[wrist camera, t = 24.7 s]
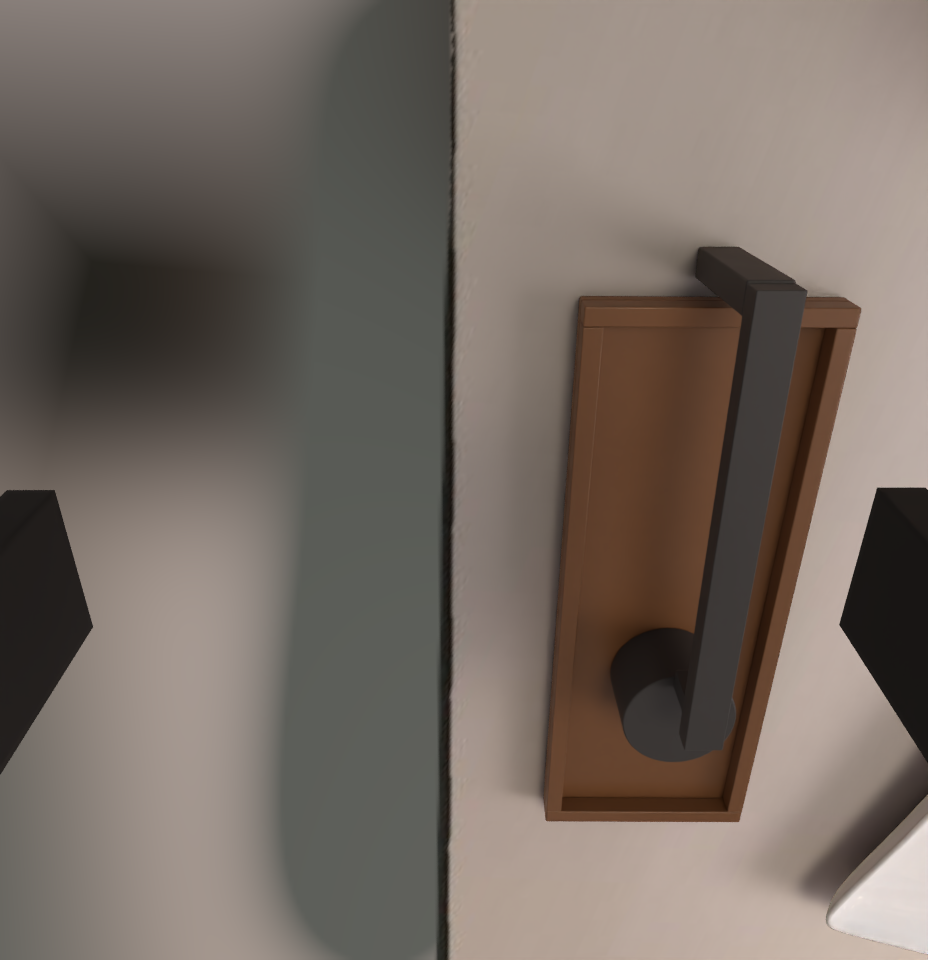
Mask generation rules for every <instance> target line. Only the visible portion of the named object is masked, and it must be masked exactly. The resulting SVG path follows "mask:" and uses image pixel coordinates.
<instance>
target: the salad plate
mask: <svg viewBox="0 0 928 960" xmlns="http://www.w3.org/2000/svg"><path fill="white" fill-rule="evenodd" d="M826 923H827V925H828V926H829V927H830V928H832V929H834V930H837V931H840V932H842V933H846V934H849V935H852V936H856V937H860V938H864V939H868V940H872V941H876V942H880V943H884V944H888V945H891V946H895V947H899V948H903V949H907V950H911V951H915V952H919V953H923V954H927V955H928V795H927V796H926V797H925V798H924V799H923V800H922V801H921V802H920V803H919V804H918V805H917V806H916V807H915V809H914V810H913V811H912V812H911V813H910V814H909V815H908V816H907V817H906V818H905V819H904V820H903V821H902V822H901V823H900V824H899V825H898V826H897V827H896V829H895V830H894V831H893V832H892V833H891V834H890V835H889V836H888V837H887V838H886V839H885V840H884V841H883V842H882V843H881V844H880V845H879V846H878V847H877V848H876V849H875V850H874V851H873V852H872V853H871V854H870V855H869V856H868V857H867V858H866V859H865V860H864V861H863V862H862V863H861V864H860V865H859V866H858V867H857V868H856V869H855V870H854V871H853V872H852V873H851V874H850V875H849V876H848V878H847V879H846V880H845V881H844V882H843V884H842V885H841V886H840V887H839V888H838V890H837V892H836V893H835V895H834V896H833V898H832V900H831V902H830V905H829V908H828V911H827V914H826Z"/></svg>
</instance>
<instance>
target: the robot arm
mask: <svg viewBox="0 0 928 960" xmlns="http://www.w3.org/2000/svg"><path fill="white" fill-rule="evenodd" d="M839 625H840V626H841V628H842V630H843V631H844V633H845V634H846V636H847V637H848V639H849V640H850V642H851V644H852V645H853V647H854V648H855V650H856V651H857V653H858V655H859V656H860V658H861V659H862V661H863V662H864V664H865V666H866V667H867V669H868V670H869V672H870V673H871V675H872V676H873V678H874V680H875V681H876V683H877V684H878V686H879V687H880V689H881V691H882V692H883V694H884V695H885V697H886V698H887V700H888V701H889V703H890V705H891V706H892V708H893V709H894V711H895V712H896V714H897V716H898V717H899V719H900V720H901V722H902V723H903V725H904V726H905V728H906V730H907V731H908V733H909V734H910V736H911V737H912V739H913V741H914V742H915V744H916V745H917V747H918V748H919V750H920V751H921V753H922V755H923V756H924V758H925V759H926V761H927V762H928V490H927V489H926V488H877V491H876V494H875V498H874V501H873V505H872V509H871V512H870V516H869V520H868V523H867V527H866V530H865V534H864V538H863V541H862V545H861V548H860V552H859V556H858V559H857V563H856V566H855V570H854V574H853V577H852V581H851V585H850V588H849V592H848V595H847V599H846V603H845V606H844V610H843V613H842V617H841V621H840V624H839ZM92 628H93V625H92V622H91V618H90V614H89V611H88V607H87V604H86V600H85V596H84V593H83V589H82V586H81V582H80V579H79V575H78V572H77V568H76V565H75V561H74V557H73V554H72V550H71V547H70V543H69V540H68V536H67V532H66V529H65V525H64V522H63V518H62V515H61V511H60V508H59V504H58V501H57V497H56V493H55V490H13V491H12V490H7V491H6V492H5V493H4V494H3V495H2V496H1V497H0V774H1V773H2V771H3V770H4V768H5V766H6V765H7V763H8V761H9V760H10V758H11V757H12V755H13V754H14V752H15V750H16V749H17V747H18V746H19V744H20V742H21V741H22V739H23V738H24V736H25V734H26V733H27V731H28V730H29V728H30V726H31V725H32V723H33V722H34V720H35V719H36V717H37V715H38V714H39V712H40V711H41V709H42V707H43V706H44V704H45V703H46V701H47V699H48V698H49V696H50V695H51V693H52V691H53V690H54V688H55V687H56V685H57V683H58V682H59V680H60V679H61V677H62V675H63V674H64V672H65V671H66V669H67V667H68V666H69V664H70V663H71V661H72V660H73V658H74V656H75V655H76V653H77V652H78V650H79V648H80V647H81V645H82V644H83V642H84V640H85V639H86V637H87V636H88V634H89V632H90V631H91V629H92Z"/></svg>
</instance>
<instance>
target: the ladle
mask: <svg viewBox="0 0 928 960" xmlns="http://www.w3.org/2000/svg"><path fill="white" fill-rule="evenodd" d="M696 278H697V279H698V280H699V281H701V282H702V283H703V284H704V285H705V286H707V287H708V288H709V289H710V290H711V291H713V292H714V293H715V294H716V295H717V296H719V297H720V298H721V299H722V300H723V301H725V302H726V303H727V304H728V305H729V306H731V307H732V308H733V309H734V310H735V311H737V312H738V313H739V314H740V315H741V316H742V321H741V328H740V334H739V341H738V347H737V354H736V361H735V367H734V374H733V380H732V387H731V393H730V400H729V407H728V413H727V420H726V426H725V433H724V439H723V446H722V453H721V459H720V466H719V472H718V479H717V485H716V492H715V499H714V505H713V512H712V518H711V525H710V531H709V538H708V545H707V551H706V558H705V564H704V571H703V578H702V584H701V591H700V597H699V604H698V610H697V617H696V624H695V630H694V634H693V633H691V632H688V631H685V630H682V629H676V628H661V629H654V630H650V631H647V632H644V633H642V634H640V635H638V636H636V637H634V638H632V639H631V640H629V641H628V642H627V643H626V644H625V645H624V646H623V647H622V648H621V649H620V650H619V651H618V653H617V654H616V656H615V658H614V660H613V663H612V666H611V671H610V677H611V683H612V687H613V691H614V695H615V699H616V703H617V707H618V711H619V716H620V720H621V724H622V728H623V731H624V734H625V737H626V739H627V741H628V742H629V743H630V745H631V746H632V747H633V748H634V749H635V750H637V751H638V752H639V753H641V754H642V755H644V756H646V757H649V758H651V759H654V760H658V761H664V762H683V761H689V760H693V759H696V758H699V757H702V756H704V755H706V754H708V753H710V752H711V751H713V750H723V744H724V741H725V740H726V739H727V737H728V736H729V734H730V733H731V731H732V729H733V727H734V724H735V720H736V707H735V703H734V700H733V698H732V696H733V690H734V685H735V680H736V674H737V669H738V663H739V658H740V653H741V647H742V642H743V636H744V631H745V626H746V620H747V615H748V609H749V604H750V599H751V593H752V588H753V582H754V577H755V572H756V566H757V561H758V555H759V550H760V545H761V539H762V534H763V528H764V523H765V518H766V512H767V507H768V501H769V496H770V491H771V485H772V480H773V474H774V469H775V464H776V458H777V453H778V447H779V442H780V437H781V431H782V426H783V420H784V415H785V410H786V404H787V399H788V393H789V388H790V383H791V377H792V372H793V366H794V361H795V356H796V350H797V345H798V339H799V334H800V329H801V323H802V318H803V312H804V307H805V302H806V296H807V290H805V289H804V288H802V287H800V286H799V285H797V284H795V283H796V282H795V280H794V279H792V278H790V277H789V276H787V275H785V274H784V273H782V272H780V271H778V270H777V269H775V268H773V267H772V266H770V265H768V264H767V263H765V262H763V261H762V260H760V259H758V258H756V257H755V256H753V255H751V254H750V253H748V252H746V251H745V250H743V249H741V248H739V247H700V248H699V252H698V260H697V268H696Z"/></svg>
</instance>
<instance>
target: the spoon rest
mask: <svg viewBox="0 0 928 960" xmlns="http://www.w3.org/2000/svg"><path fill="white" fill-rule="evenodd" d="M860 313H861V308H860V307H858V306H857V305H855V304H854V303H852V302H850V301H849V300H847V299H846V298H844V297H806V302H805V307H804V312H803V318H802V323H801V329H800V334H799V339H798V345H797V350H796V356H795V361H794V366H793V372H792V377H791V383H790V388H789V393H788V399H787V404H786V410H785V415H784V420H783V426H782V431H781V437H780V442H779V447H778V453H777V458H776V464H775V469H774V474H773V480H772V485H771V491H770V496H769V501H768V507H767V512H766V518H765V523H764V528H763V534H762V539H761V545H760V550H759V555H758V561H757V566H756V572H755V577H754V582H753V588H752V593H751V599H750V604H749V609H748V615H747V620H746V626H745V631H744V636H743V642H742V647H741V653H740V658H739V663H738V669H737V674H736V680H735V685H734V690H733V696H732V698H733V700H734V703H735V707H736V720H735V724H734V727H733V729H732V731H731V733H730V734H729V736H728V737H727V739H726V740H725V741H724V744H723V750H713V751H711V752H710V753H708V754H706V755H704V756H702V757H699V758H696V759H693V760H689V761H683V762H664V761H658V760H654V759H651V758H649V757H646V756H644V755H642V754H641V753H639V752H638V751H637V750H635V749H634V748H633V747H632V746H631V745H630V743H629V742H628V741H627V739H626V737H625V734H624V731H623V728H622V724H621V720H620V716H619V711H618V707H617V703H616V699H615V695H614V691H613V687H612V683H611V677H610V671H611V666H612V663H613V660H614V658H615V656H616V654H617V653H618V651H619V650H620V649H621V648H622V647H623V646H624V645H625V644H626V643H627V642H628V641H629V640H631V639H632V638H634V637H636V636H638V635H640V634H642V633H644V632H647V631H650V630H654V629H661V628H676V629H682V630H685V631H688V632H691V633H693V634H694V630H695V624H696V617H697V610H698V604H699V597H700V591H701V584H702V578H703V571H704V564H705V558H706V551H707V545H708V538H709V531H710V525H711V518H712V512H713V505H714V499H715V492H716V485H717V479H718V472H719V466H720V459H721V453H722V446H723V439H724V433H725V426H726V420H727V413H728V407H729V400H730V393H731V387H732V380H733V374H734V367H735V361H736V354H737V347H738V341H739V334H740V328H741V321H742V316H741V315H740V314H739V313H738V312H737V311H735V310H734V309H733V308H732V307H731V306H729V305H728V304H727V303H726V302H725V301H723V300H722V299H721V298H720V297H638V296H581V297H580V298H579V312H578V326H577V339H576V353H575V367H574V381H573V395H572V409H571V423H570V436H569V450H568V464H567V478H566V492H565V506H564V519H563V533H562V547H561V561H560V575H559V589H558V603H557V616H556V630H555V644H554V658H553V672H552V686H551V700H550V713H549V727H548V741H547V755H546V769H545V783H544V797H543V799H544V809H545V818H546V821H617V822H739V820H740V816H741V812H742V808H743V804H744V800H745V796H746V791H747V787H748V783H749V779H750V775H751V770H752V766H753V762H754V758H755V754H756V750H757V745H758V741H759V737H760V733H761V729H762V724H763V720H764V716H765V712H766V708H767V703H768V699H769V695H770V691H771V687H772V682H773V678H774V674H775V670H776V666H777V661H778V657H779V653H780V649H781V645H782V640H783V636H784V632H785V628H786V624H787V619H788V615H789V611H790V607H791V603H792V598H793V594H794V590H795V586H796V582H797V577H798V573H799V569H800V565H801V561H802V557H803V552H804V548H805V544H806V540H807V536H808V531H809V527H810V523H811V519H812V515H813V510H814V506H815V502H816V498H817V494H818V489H819V485H820V481H821V477H822V473H823V468H824V464H825V460H826V456H827V452H828V447H829V443H830V439H831V435H832V431H833V426H834V422H835V418H836V414H837V410H838V405H839V401H840V397H841V393H842V389H843V384H844V380H845V376H846V372H847V368H848V363H849V359H850V355H851V351H852V347H853V343H854V338H855V334H856V328H857V326H858V322H859V317H860Z"/></svg>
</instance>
